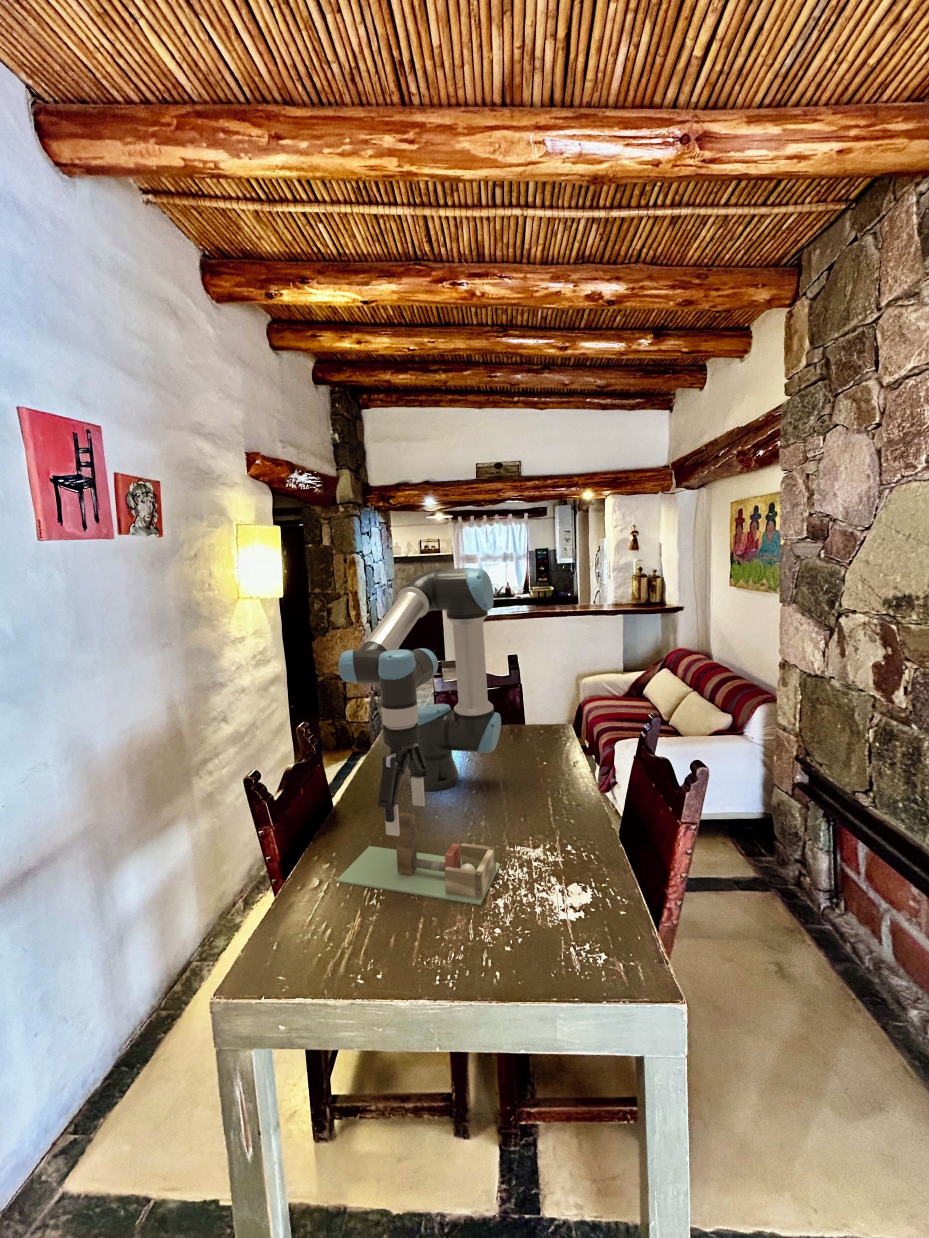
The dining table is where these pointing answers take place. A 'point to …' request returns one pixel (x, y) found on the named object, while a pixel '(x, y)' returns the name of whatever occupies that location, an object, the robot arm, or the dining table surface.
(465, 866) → the ball
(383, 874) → the mat
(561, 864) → the dining table surface
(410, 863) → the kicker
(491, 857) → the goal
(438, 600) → the robot arm
